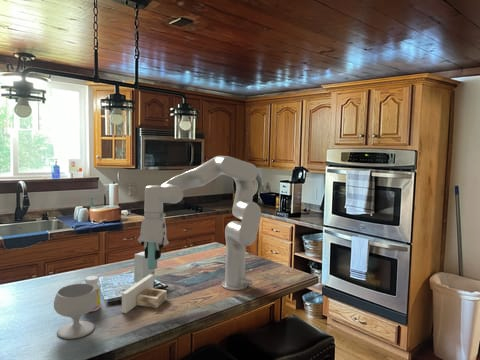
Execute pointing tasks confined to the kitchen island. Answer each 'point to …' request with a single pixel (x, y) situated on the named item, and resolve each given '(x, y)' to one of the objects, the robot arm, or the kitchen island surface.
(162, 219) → the robot arm
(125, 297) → the wall
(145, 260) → the skincare box
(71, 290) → the chalice
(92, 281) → the supplement bottle
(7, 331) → the kitchen island surface
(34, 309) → the kitchen island surface
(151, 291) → the light wooden square frame
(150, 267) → the dowel
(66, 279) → the kitchen island surface
